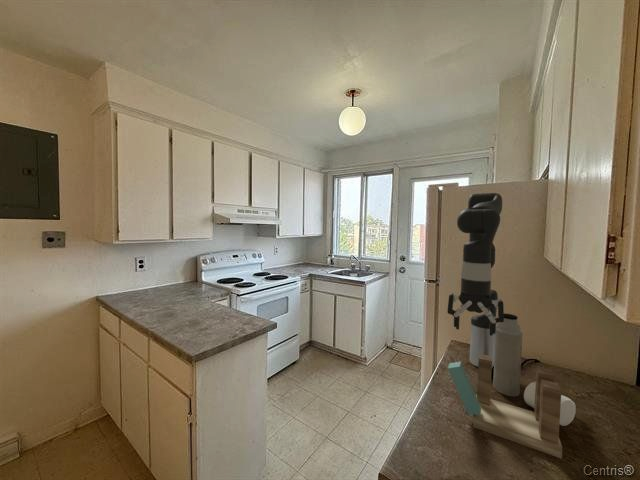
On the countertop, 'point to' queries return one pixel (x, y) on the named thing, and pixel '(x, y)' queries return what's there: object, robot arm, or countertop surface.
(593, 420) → the countertop surface
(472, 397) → the folding leg
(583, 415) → the countertop surface
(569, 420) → the mug
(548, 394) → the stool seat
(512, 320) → the thermos bottle
